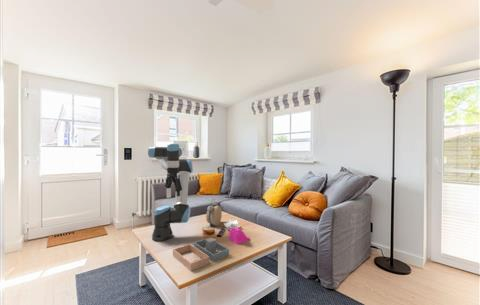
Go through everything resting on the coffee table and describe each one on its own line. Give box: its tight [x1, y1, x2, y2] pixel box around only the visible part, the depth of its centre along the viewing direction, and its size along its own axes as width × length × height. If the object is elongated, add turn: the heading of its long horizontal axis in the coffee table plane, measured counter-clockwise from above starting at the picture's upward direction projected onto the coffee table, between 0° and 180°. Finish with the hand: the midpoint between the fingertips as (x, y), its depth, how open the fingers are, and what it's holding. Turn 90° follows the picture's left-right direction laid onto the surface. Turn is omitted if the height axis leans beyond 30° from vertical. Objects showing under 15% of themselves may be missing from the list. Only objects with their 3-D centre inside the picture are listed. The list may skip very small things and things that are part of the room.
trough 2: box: [193, 237, 230, 262], centre depth 140 cm, size 23×12×4 cm, turn 42°
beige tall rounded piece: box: [205, 198, 223, 227], centre depth 192 cm, size 17×9×23 cm, turn 164°
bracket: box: [228, 228, 251, 245], centre depth 159 cm, size 12×10×10 cm
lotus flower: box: [223, 218, 241, 230], centre depth 182 cm, size 14×15×9 cm
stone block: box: [205, 237, 217, 254], centre depth 140 cm, size 5×5×8 cm
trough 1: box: [172, 243, 210, 272], centre depth 130 cm, size 23×12×4 cm, turn 42°
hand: (173, 199), depth 140 cm, fingers open, 13 cm apart
